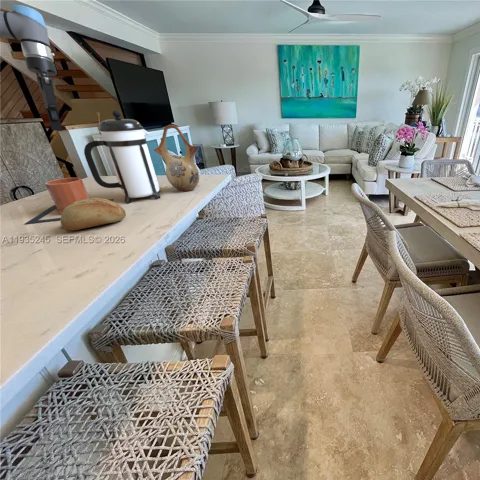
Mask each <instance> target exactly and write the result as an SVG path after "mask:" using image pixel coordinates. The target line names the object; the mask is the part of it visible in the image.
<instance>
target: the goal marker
mask: <svg viewBox="0 0 480 480" xmlns="http://www.w3.org/2000/svg"><path fill="white" fill-rule="evenodd" d="M107 200H110V201H113V202H114V198H108V199H107ZM55 209H56V210H57V207H56V205H55V204H53V205H52V206H50V207H49V208H47V209H45V210H44V211H42V212H40V213H39V214H38V215H37V214H36V216H34V217H32V218H31V219H30V220H28V221H27V222H25V223H24V225H32V224H41V223H49V222H58V221H61V220H60V219H61V217H54V218H46V219H43V218H44V217H45V216H47V215H48V214H50V213H51V212H53V211H54V210H55Z"/></svg>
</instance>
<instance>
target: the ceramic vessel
mask: <svg viewBox="0 0 480 480" xmlns="http://www.w3.org/2000/svg"><path fill="white" fill-rule="evenodd" d="M169 129H174V130H176V131H177V133H178V135H179V136H180V138H181V140H182V142H183V144H184V149H185V155H184V156H183V157H182V158H176V157H174V156H172V155H171V154H170V152H169V151H168V146H167V135H168V134H167V133H168V130H169ZM199 150H200V148H199V147H198V146H196V145H192V144H190V143H189V142H188V140H187V138H186V137H185V135H184V134H183V132H182V130H181V129H180V128H179V127H178V126H177V125H174V124H168V125H165V126H164V128H163V132H162V136H161V140H160V143H159V145H158V147H157V148H154V149H153V151H154V152H155V153H157V154H158V155H159V156H160V157H161V158H162V159H163V160H164V162H165V176H166V178H167V181H168V182H169V184H170V185H171V186H172V187H173V188H174V189H176V190H178V191H180V192H189V191H193V190H195V189H196V187H198V185H199V182H200V173H199V170H198V169H199V168H198V167H197V166H196V164H195V156H196V154H197V153H198V151H199Z"/></svg>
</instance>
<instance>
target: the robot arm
mask: <svg viewBox="0 0 480 480" xmlns="http://www.w3.org/2000/svg"><path fill="white" fill-rule="evenodd" d="M0 38H2V39H3V38H4V39H10V40H17V41H20V45H21V50H22V54H23V57H25V58H24V61H25V64H26V65H25V66H26V69H27V70H28V71H29V72H31V73H34V74H37V75H36V82H37V84H38V87H39V90H40V93H41V95H42V98H43V102H44V105H45V108H44V110H45V111H47V115H48V116H47V117H48V119H49V125H50V127H51V131H55V132H58V131H59V132H62V131H63V128H62V123H61V119H60V115H59V114H60V110H58V104H57V100H56V95H55V88H54V79H53V78H52V77H54V76H57V74H58V72H57V68H56V64H55V63H54V62H55V60H54V57H55V53H54V52H52V47H51V43H50V39H49V34H48V28H47V25H46V23H45V20H44V16H43V15H42V14H41V13H40V12H39V11H38V10H37V9H34V8H32V7H29V6H26V5H23V4H18V5H17V4H14V5H12V6H11V12H10V11H2V10H0Z"/></svg>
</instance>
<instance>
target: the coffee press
mask: <svg viewBox="0 0 480 480" xmlns="http://www.w3.org/2000/svg"><path fill="white" fill-rule="evenodd" d="M112 116H113V117H114V118H110V119H103V120H102V121H100V122H99V123H98V128H97V131H98V132H99V133H100V135H101V137H102V140H91V141H89V142H88V143H87V144H85V146H84V149H83V155H84V157H85V161H86V163H87V165H88V169H89V171H90V173H91V175H92V177H93V180H94V181H95V182H96V184H98V185H99V186H101V187H103V188H106V189H116V188H118V189H120V190H121V192H122V194H123V196H124V200H123V201H124V203H126V204H131V203H132V201H133V199H138V198H146V197H150V196H151V197H153V198H154V199H155V200H159V199H161V195H160V194H159V193H160V192H161V189H160V185H159V181H158V178H157V175H156V171H155V168H154V164H153V161H152V158H151V154H150V151H149V147H148V142H147V138H146V137H145V136H150V132H149V131H147V130H146V129H144V126H143V125H142V124H141V123H140V122H139V121H138V120H136V119H133V118H122V117H121V116H122V113H121V112H120V111H119V110H116V109H115V110H113V111H112ZM101 146H102V147H103V146H104V147H105V148H106V151H107V154H108V157H109V159H110V162H111V165H112V168H113V171H114V173H115V176H116V179H117V181H118V182H106V181H104V180H103V179H102V177H101V176H100V173H99V171H98V168H97V166H96V163H95V161H94V157H93V155H92V150H93V148H96V147H101Z"/></svg>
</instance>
